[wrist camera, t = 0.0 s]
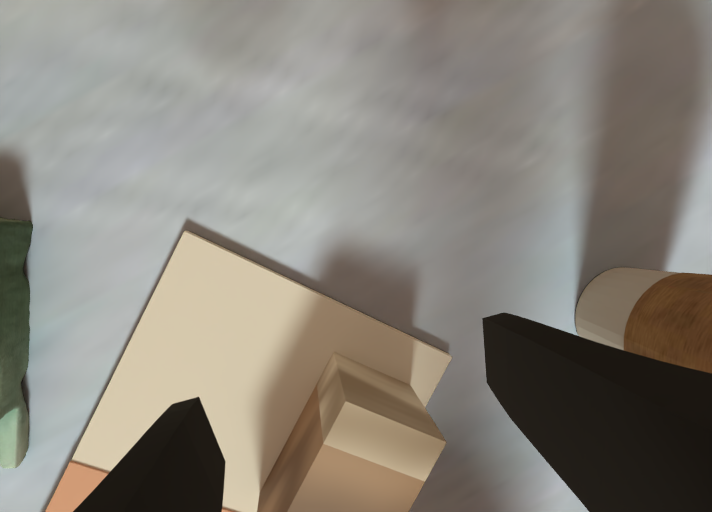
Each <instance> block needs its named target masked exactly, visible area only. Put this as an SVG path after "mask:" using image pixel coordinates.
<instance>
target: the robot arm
mask: <svg viewBox="0 0 712 512" xmlns="http://www.w3.org/2000/svg"><path fill="white" fill-rule="evenodd" d="M483 333H484V348H485V363H486V377H487V383H488V385H489V387H490V388H491V390H492V391H493V393H494V394H495V396H496V398H497V399H498V401H499V402H500V404H501V405H502V407H503V408H504V410H505V411H506V412H507V414H508V415H509V417H510V418H511V419H512V421H513V422H514V423H515V424H516V425H517V427H518V428H519V429H520V430H521V431H522V433H523V434H524V435H525V436H526V437H527V439H528V440H529V441H530V442H531V443H532V444H533V446H534V447H535V448H536V449H537V450H538V452H539V453H540V454H541V455H542V456H543V457H544V459H545V460H546V461H547V462H548V463H549V464H550V466H551V467H552V468H553V469H554V470H555V471H556V473H557V474H558V475H559V476H560V477H561V478H562V480H563V481H564V482H565V483H566V484H567V486H568V487H569V488H570V489H571V490H572V491H573V493H574V494H575V495H576V496H577V497H578V498H579V500H580V501H581V502H582V503H583V504H584V506H585V507H586V508H587V509H588V511H589V512H712V373H708V372H704V371H699V370H695V369H691V368H686V367H682V366H678V365H675V364H671V363H667V362H663V361H659V360H656V359H652V358H649V357H645V356H642V355H638V354H635V353H631V352H628V351H624V350H621V349H617V348H614V347H611V346H608V345H604V344H601V343H598V342H595V341H592V340H589V339H586V338H583V337H580V336H577V335H574V334H571V333H568V332H565V331H562V330H559V329H556V328H553V327H550V326H547V325H544V324H541V323H538V322H535V321H532V320H529V319H525V318H522V317H519V316H516V315H512V314H508V313H500V314H497V315H493V316H489V317H486V318H483ZM225 462H226V461H225V459H224V456H223V454H222V452H221V449H220V447H219V444H218V442H217V439H216V437H215V435H214V432H213V430H212V427H211V425H210V422H209V420H208V417H207V415H206V413H205V410H204V408H203V405H202V403H201V400H200V398H199V397H196V398H192V399H189V400H185V401H181V402H178V403H174V404H172V405H171V406H170V407H169V408H168V409H167V410H166V411H165V412H164V413H163V414H162V415H161V416H160V417H159V418H158V419H157V420H156V421H155V422H154V423H153V425H152V426H151V427H150V428H149V429H148V430H147V431H146V432H145V433H144V435H143V436H142V437H141V438H140V439H139V440H138V441H137V442H136V444H135V445H134V446H133V447H132V448H131V449H130V450H129V451H128V453H127V454H126V455H125V456H124V457H123V458H122V459H121V460H120V461H119V462H118V464H117V465H116V466H115V467H114V468H113V469H112V470H111V471H110V472H109V474H108V475H107V476H106V477H105V478H104V479H103V480H102V481H101V482H100V484H99V485H98V486H97V487H96V488H95V489H94V490H93V491H92V492H91V493H90V494H89V495H88V496H87V497H86V499H85V500H84V501H83V502H82V503H81V504H80V505H79V506H78V507H77V508H76V509H75V510H74V511H73V512H222V505H223V493H224V479H225Z"/></svg>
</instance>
